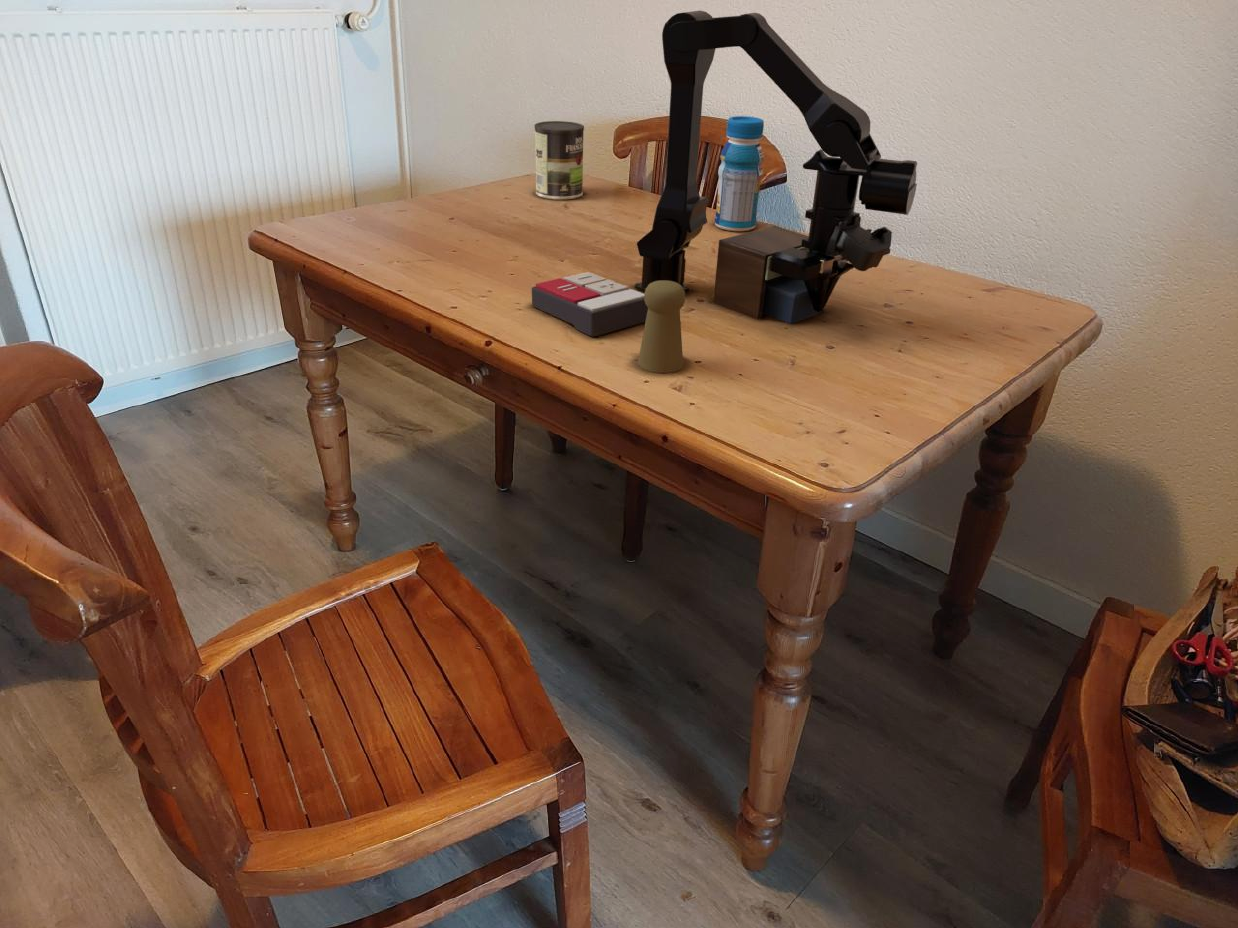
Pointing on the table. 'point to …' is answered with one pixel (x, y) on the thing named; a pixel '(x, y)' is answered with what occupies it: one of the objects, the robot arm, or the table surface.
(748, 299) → the drawer unit
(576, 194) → the coffee can
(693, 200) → the robot arm
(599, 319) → the calculator
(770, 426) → the table surface
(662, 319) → the olive pawn
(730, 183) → the beverage bottle
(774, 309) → the storage box
